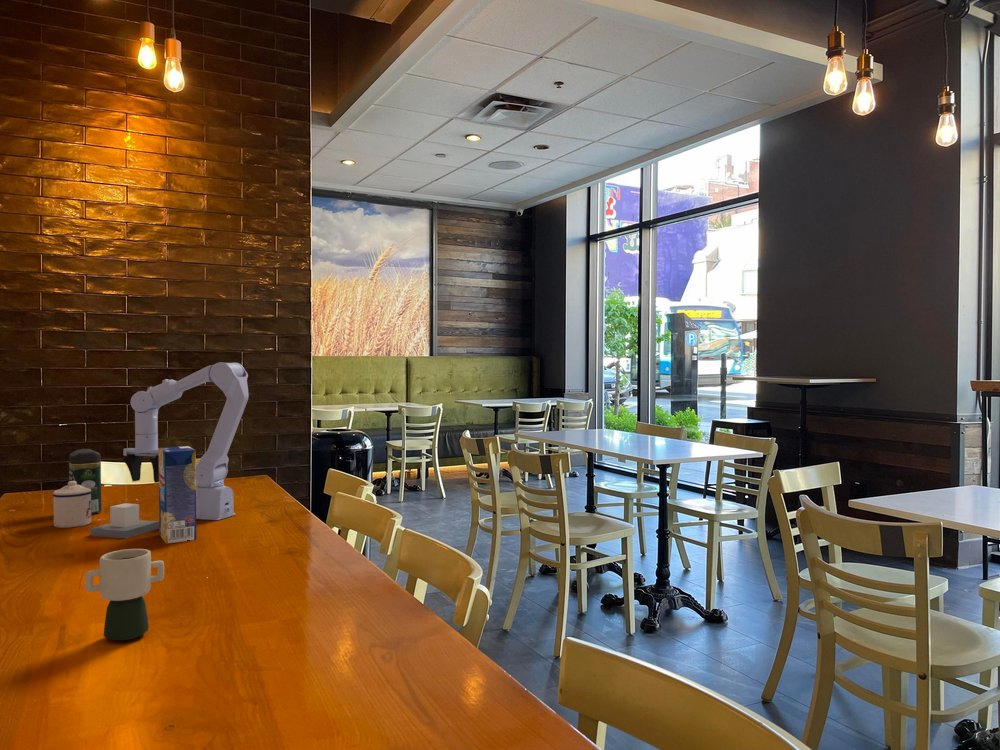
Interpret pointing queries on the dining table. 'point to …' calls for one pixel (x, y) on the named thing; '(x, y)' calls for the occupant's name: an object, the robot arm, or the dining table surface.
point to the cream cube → (124, 515)
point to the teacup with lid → (72, 506)
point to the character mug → (125, 590)
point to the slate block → (125, 529)
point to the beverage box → (177, 494)
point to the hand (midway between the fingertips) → (147, 481)
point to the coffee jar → (87, 474)
